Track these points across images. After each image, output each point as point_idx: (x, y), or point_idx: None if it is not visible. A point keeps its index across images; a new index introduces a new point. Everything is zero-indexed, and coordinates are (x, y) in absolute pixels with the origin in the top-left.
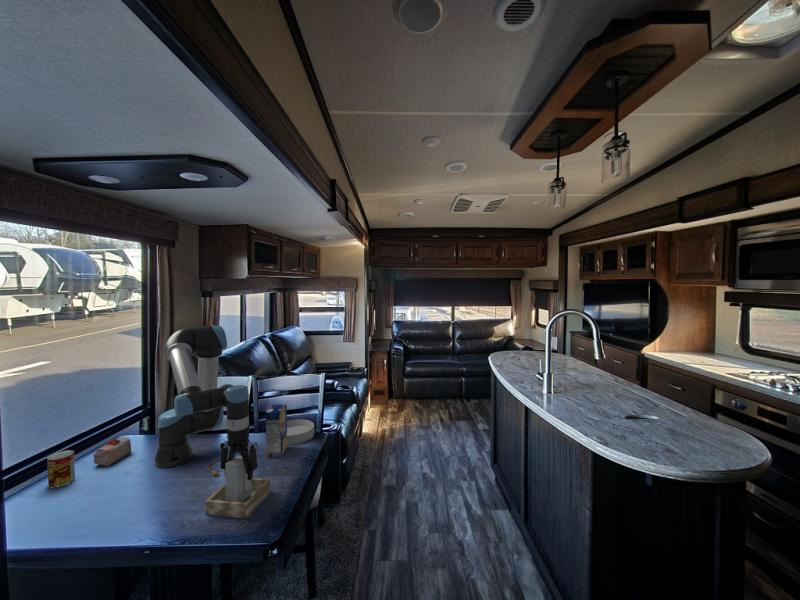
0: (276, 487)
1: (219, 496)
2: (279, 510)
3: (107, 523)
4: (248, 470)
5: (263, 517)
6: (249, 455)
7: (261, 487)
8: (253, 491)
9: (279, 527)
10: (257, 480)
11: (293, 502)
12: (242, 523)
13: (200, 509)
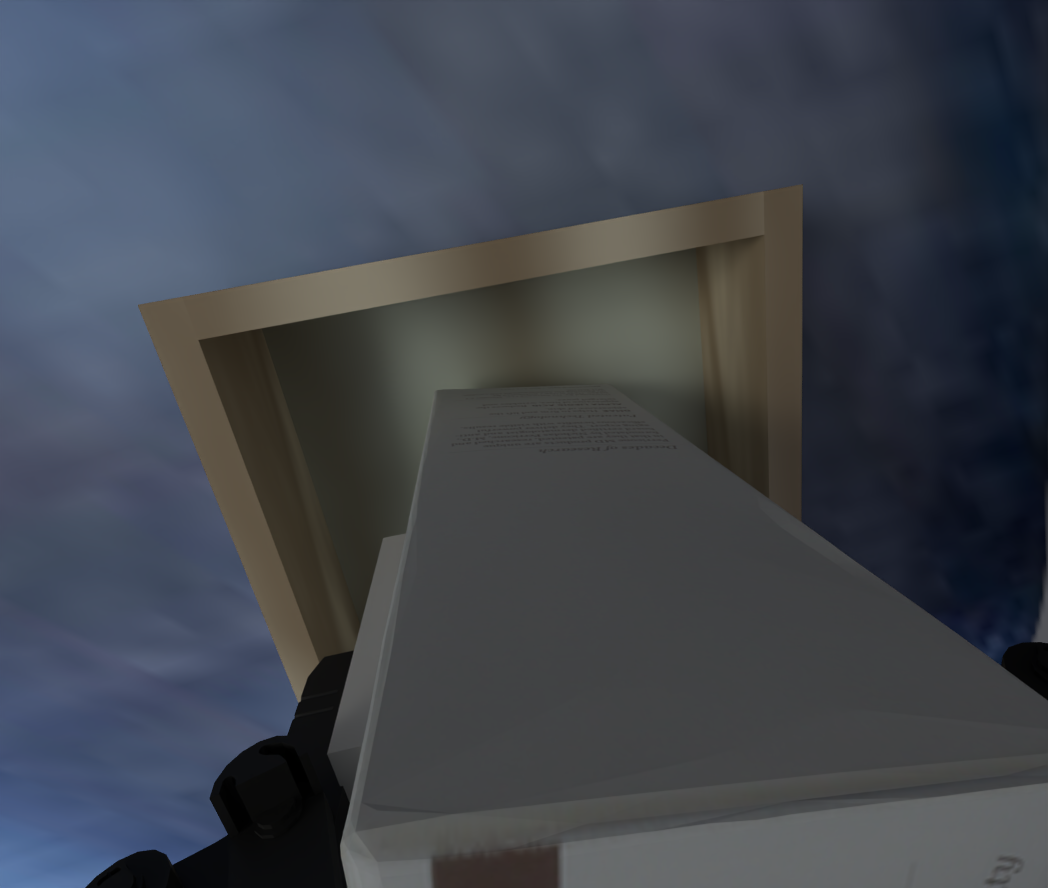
0: (740, 98)
1: (325, 597)
2: (942, 441)
3: None
4: None
5: (848, 551)
6: (970, 813)
7: (785, 406)
8: (549, 301)
9: (1011, 590)
10: (612, 260)
11: (1031, 301)
12: None
13: (242, 657)
